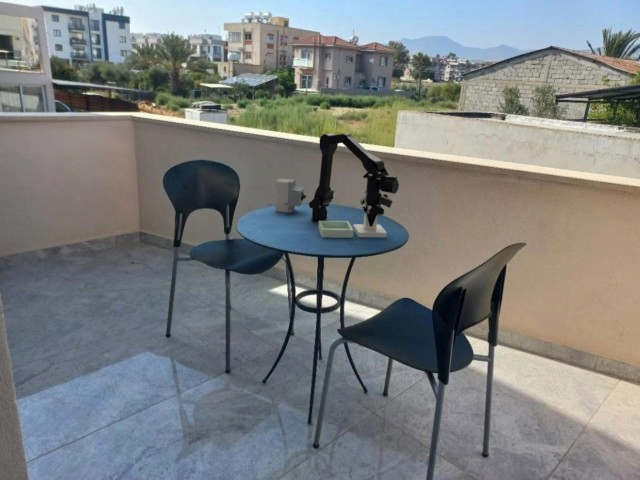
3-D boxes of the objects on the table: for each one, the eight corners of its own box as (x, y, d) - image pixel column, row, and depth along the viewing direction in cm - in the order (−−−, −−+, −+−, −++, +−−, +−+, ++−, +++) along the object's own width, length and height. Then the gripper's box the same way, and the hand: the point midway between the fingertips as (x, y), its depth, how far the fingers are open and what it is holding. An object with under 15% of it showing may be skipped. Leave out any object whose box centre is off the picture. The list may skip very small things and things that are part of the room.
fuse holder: (358, 237, 184) (358, 232, 184) (353, 228, 196) (353, 224, 195) (386, 237, 186) (386, 232, 185) (379, 228, 197) (379, 224, 196)
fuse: (364, 233, 189) (366, 215, 186) (363, 230, 192) (364, 213, 189) (375, 233, 190) (377, 215, 187) (374, 230, 192) (375, 213, 190)
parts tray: (322, 237, 182) (322, 229, 181) (318, 227, 194) (318, 220, 193) (352, 237, 184) (353, 230, 182) (347, 228, 196) (347, 221, 195)
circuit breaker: (303, 214, 215) (304, 183, 210) (274, 211, 217) (275, 181, 212) (306, 210, 222) (307, 180, 217) (279, 207, 224) (279, 178, 219)
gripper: (398, 195, 177) (394, 232, 182) (386, 185, 194) (382, 219, 199) (371, 194, 175) (367, 231, 180) (361, 184, 193) (358, 219, 198)
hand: (370, 225), depth 190 cm, fingers closed on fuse, 3 cm apart
